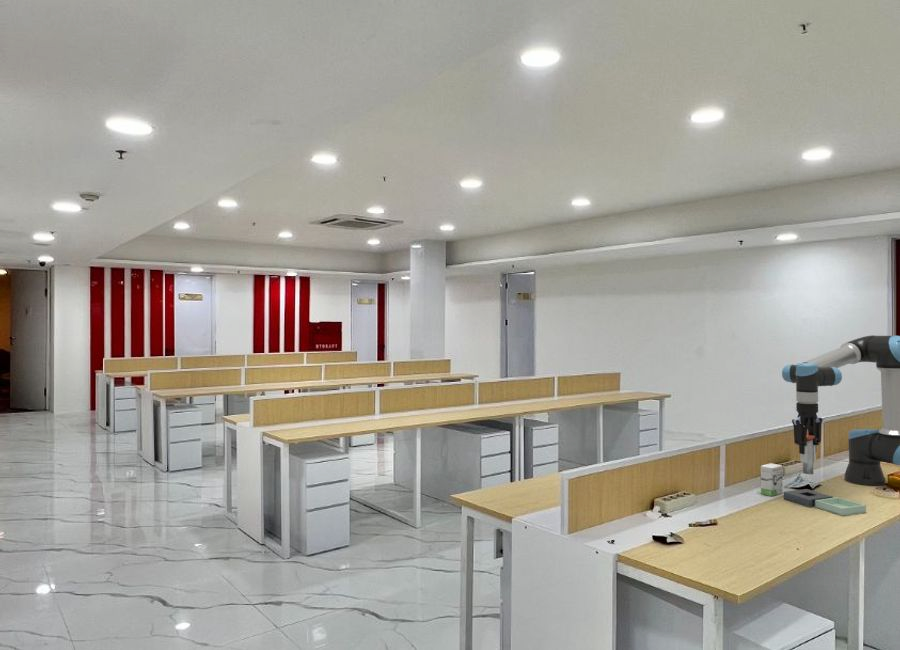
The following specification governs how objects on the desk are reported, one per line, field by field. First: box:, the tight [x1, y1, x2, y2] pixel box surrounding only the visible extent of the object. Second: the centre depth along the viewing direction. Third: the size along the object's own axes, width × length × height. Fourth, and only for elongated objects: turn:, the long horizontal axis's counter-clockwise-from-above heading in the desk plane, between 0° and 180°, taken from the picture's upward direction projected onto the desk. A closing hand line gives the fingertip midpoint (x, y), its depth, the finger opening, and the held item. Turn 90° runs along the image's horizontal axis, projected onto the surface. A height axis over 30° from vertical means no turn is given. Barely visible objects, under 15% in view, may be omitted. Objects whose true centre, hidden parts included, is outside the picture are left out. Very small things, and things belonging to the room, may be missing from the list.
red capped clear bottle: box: [802, 433, 815, 475], centre depth 249 cm, size 5×5×15 cm
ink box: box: [760, 462, 784, 497], centre depth 261 cm, size 9×5×12 cm, turn 124°
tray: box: [814, 497, 867, 517], centre depth 238 cm, size 12×12×3 cm
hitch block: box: [783, 488, 834, 508], centre depth 249 cm, size 12×12×3 cm
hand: (807, 461), depth 249 cm, fingers closed on red capped clear bottle, 3 cm apart
